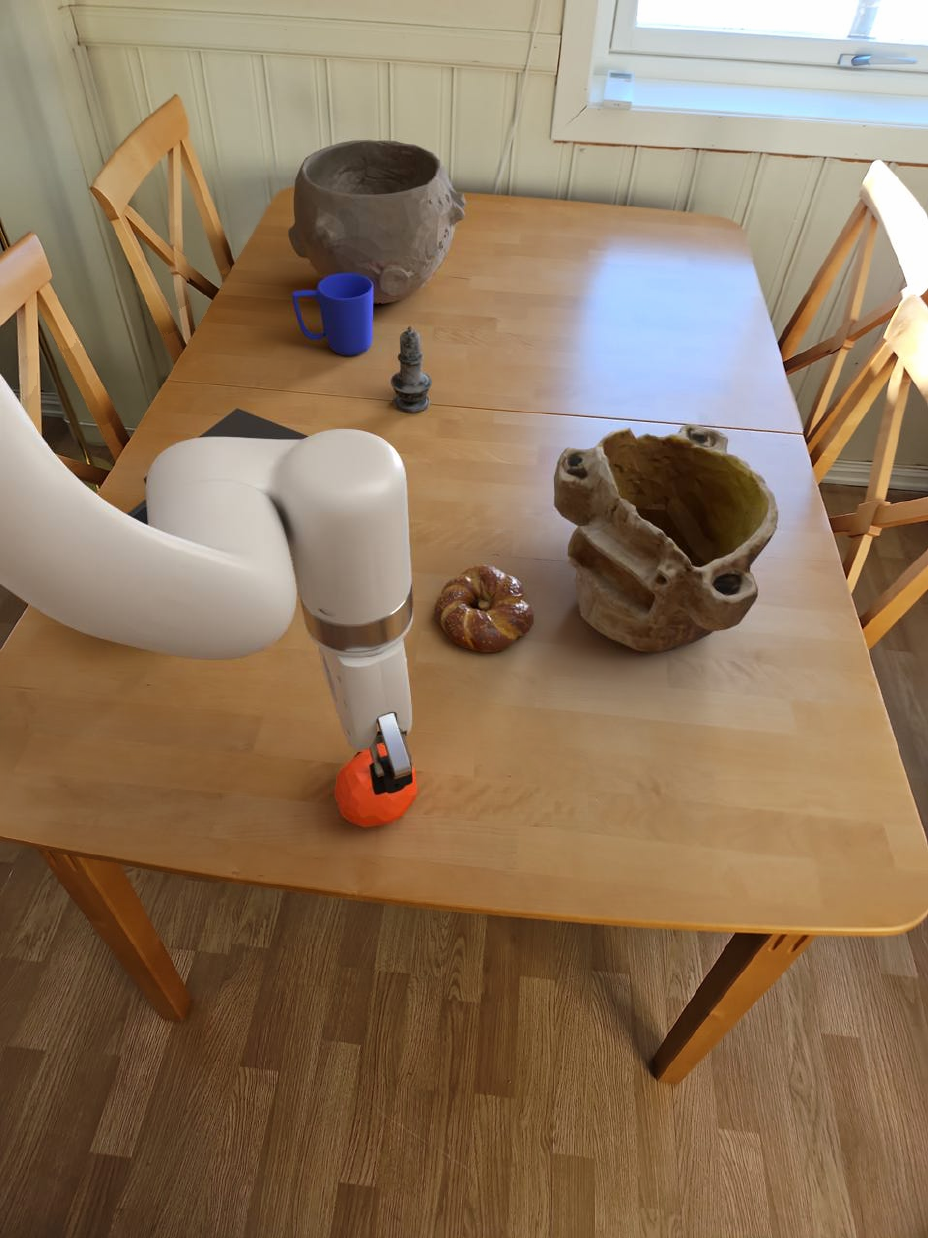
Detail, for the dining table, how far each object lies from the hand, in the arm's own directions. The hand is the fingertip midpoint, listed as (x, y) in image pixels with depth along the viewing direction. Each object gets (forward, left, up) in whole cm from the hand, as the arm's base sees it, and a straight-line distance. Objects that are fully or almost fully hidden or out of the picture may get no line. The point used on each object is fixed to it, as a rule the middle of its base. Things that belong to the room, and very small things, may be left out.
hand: (374, 738), depth 69 cm
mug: (+18, +78, -11) cm, 81 cm away
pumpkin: (0, 0, -11) cm, 11 cm away
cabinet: (-3, +41, -10) cm, 42 cm away
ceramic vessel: (+36, +11, -11) cm, 39 cm away
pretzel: (+18, +18, -11) cm, 27 cm away
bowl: (+30, +94, -11) cm, 99 cm away
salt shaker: (+24, +60, -11) cm, 65 cm away
